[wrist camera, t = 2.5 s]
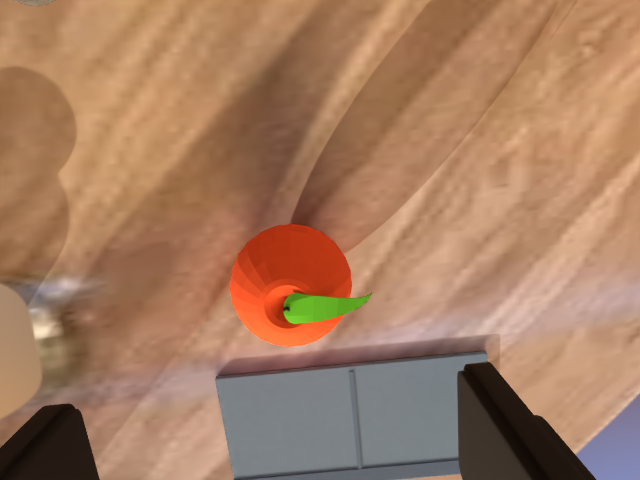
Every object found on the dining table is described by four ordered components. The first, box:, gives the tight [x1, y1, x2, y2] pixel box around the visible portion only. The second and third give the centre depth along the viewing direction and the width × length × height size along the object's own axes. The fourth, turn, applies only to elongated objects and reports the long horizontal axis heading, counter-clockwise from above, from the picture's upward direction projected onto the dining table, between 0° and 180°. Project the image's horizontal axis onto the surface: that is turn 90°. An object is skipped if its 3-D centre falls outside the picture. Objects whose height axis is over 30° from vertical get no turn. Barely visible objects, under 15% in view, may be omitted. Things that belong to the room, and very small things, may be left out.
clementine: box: [230, 224, 372, 347], centre depth 23 cm, size 8×7×7 cm
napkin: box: [215, 351, 487, 480], centre depth 29 cm, size 19×10×1 cm, turn 96°
